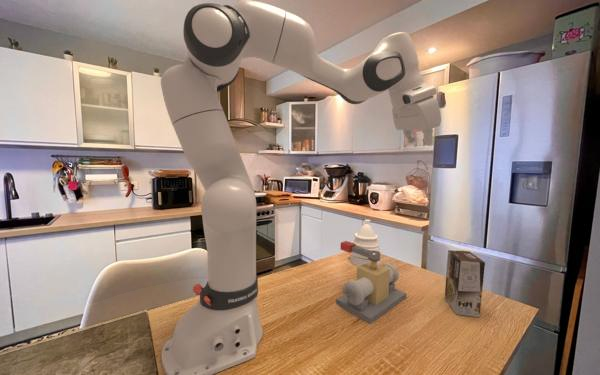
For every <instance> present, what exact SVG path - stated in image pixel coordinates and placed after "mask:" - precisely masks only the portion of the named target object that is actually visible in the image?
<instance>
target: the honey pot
mask: <svg viewBox="0 0 600 375" xmlns="http://www.w3.org/2000/svg"><path fill="white" fill-rule="evenodd" d="M371 220H372V219H364V224H363V225H362V226H361V227H360V228H359V229H358V231H357V232H355V233H354V240H353V242H352V243H354V244H356V246H358V247H361V248H364V249H367V250H370V251H371V250H374V251H378V252H380V261H377V264H378V265H380V266H382V265H381V263H382V250H381V247H380V242H379V241H378V238H379V235H378V234H376V233H375V230H374V229H373V227H372V225H370V224H371ZM349 258H350V260H349V261H350V263H351V264H353V265H354V266H356V267H359V266H362V265H364V264H366V263H368V262H371V260H369V259H368V257H365V256H362V255H359V254H357V253H354V252H351V253H350V257H349Z"/></svg>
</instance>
